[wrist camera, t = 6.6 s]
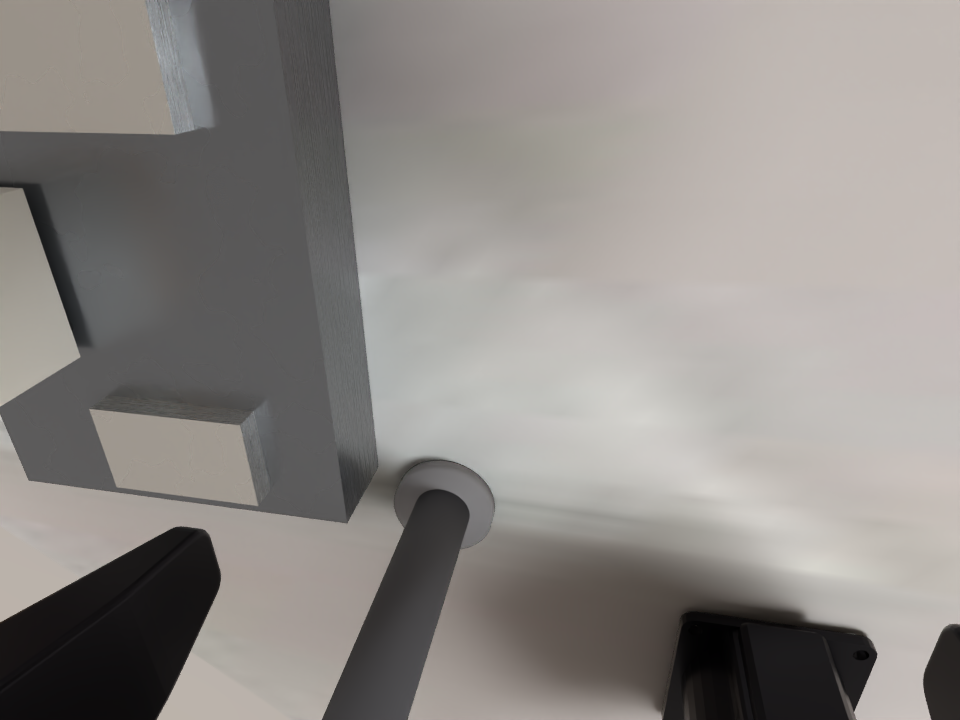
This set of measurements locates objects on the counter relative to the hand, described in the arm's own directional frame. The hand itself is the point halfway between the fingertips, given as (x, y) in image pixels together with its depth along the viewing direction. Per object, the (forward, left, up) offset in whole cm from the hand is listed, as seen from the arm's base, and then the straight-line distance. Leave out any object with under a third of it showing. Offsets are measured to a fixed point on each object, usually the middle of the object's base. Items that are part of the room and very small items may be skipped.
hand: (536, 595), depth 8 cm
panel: (0, +13, -12) cm, 18 cm away
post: (-9, +4, -12) cm, 16 cm away
